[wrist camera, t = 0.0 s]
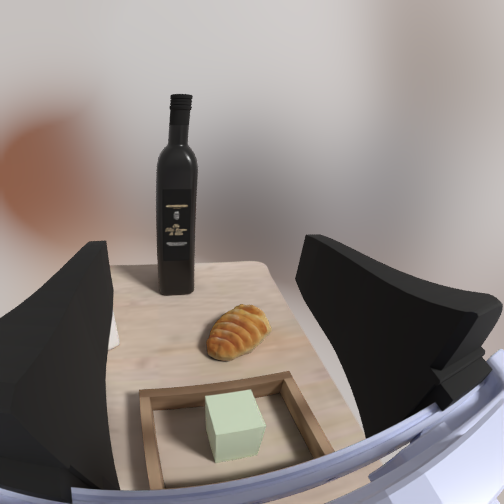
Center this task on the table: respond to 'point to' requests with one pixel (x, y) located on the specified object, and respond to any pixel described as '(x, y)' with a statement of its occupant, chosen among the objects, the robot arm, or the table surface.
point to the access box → (197, 393)
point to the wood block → (233, 425)
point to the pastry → (237, 333)
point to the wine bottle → (176, 203)
